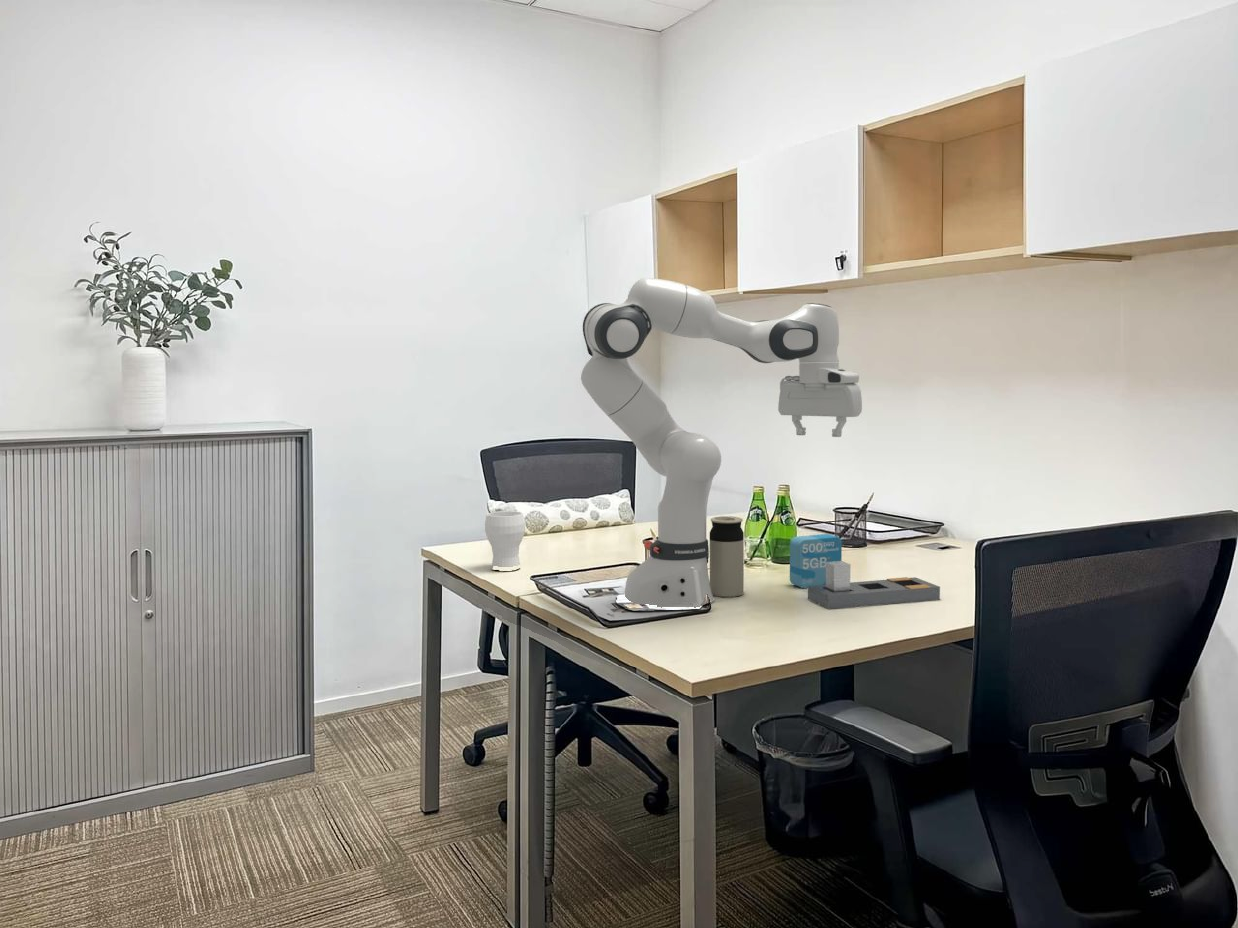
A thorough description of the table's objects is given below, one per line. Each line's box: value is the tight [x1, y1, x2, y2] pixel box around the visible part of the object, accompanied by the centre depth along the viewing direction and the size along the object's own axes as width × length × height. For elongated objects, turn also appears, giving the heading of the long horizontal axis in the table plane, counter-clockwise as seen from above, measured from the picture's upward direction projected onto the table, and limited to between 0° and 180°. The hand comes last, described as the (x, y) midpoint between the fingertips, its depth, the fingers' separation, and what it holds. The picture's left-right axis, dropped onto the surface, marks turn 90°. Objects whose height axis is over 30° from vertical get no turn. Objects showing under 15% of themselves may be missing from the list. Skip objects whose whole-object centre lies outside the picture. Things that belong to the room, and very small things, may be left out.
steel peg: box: [826, 560, 851, 593], centre depth 214 cm, size 4×4×9 cm
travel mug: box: [709, 515, 745, 598], centre depth 223 cm, size 8×8×18 cm
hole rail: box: [807, 576, 941, 610], centre depth 217 cm, size 28×10×3 cm, turn 105°
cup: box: [484, 510, 526, 567], centre depth 254 cm, size 11×11×15 cm
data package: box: [789, 533, 843, 589], centre depth 231 cm, size 12×4×12 cm, turn 110°
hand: (818, 436), depth 218 cm, fingers open, 8 cm apart
